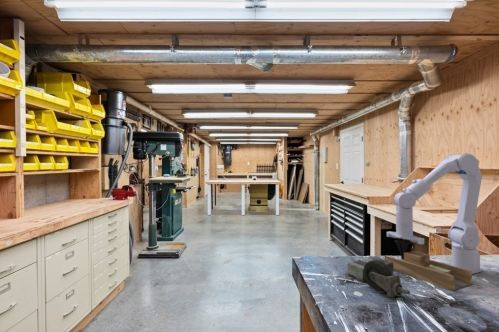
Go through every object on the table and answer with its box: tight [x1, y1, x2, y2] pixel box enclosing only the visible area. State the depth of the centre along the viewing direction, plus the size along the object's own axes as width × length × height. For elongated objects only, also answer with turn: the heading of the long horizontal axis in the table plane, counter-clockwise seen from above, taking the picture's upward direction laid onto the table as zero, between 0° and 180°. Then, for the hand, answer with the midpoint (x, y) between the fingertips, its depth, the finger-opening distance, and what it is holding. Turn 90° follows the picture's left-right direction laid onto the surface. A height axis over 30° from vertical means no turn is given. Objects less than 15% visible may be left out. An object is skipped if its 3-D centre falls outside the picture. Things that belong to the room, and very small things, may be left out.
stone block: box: [346, 256, 394, 283], centre depth 107 cm, size 9×14×5 cm, turn 112°
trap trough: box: [384, 255, 473, 292], centre depth 107 cm, size 11×25×4 cm, turn 27°
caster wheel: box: [363, 260, 410, 298], centre depth 92 cm, size 6×10×15 cm
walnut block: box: [404, 250, 431, 267], centre depth 109 cm, size 6×6×4 cm
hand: (404, 258), depth 114 cm, fingers closed
